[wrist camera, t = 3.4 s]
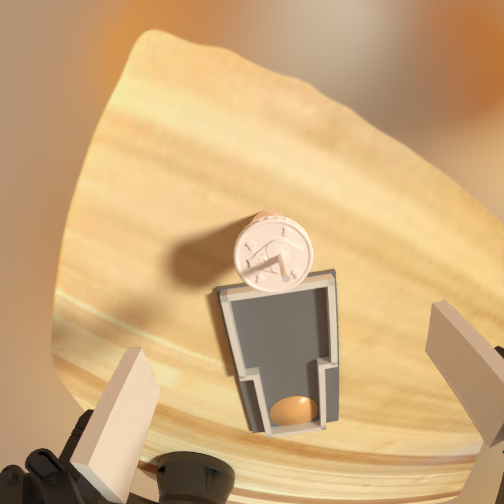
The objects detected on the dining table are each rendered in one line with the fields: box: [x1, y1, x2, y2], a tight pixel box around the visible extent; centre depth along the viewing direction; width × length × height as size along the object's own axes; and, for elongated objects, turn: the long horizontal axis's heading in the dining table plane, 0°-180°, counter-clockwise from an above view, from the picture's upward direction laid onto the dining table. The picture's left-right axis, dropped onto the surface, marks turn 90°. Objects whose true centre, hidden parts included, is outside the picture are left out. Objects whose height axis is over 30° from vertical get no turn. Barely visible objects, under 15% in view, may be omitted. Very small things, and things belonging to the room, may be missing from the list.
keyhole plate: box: [216, 269, 339, 438], centre depth 39 cm, size 14×26×2 cm, turn 9°
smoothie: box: [233, 210, 313, 294], centre depth 27 cm, size 6×6×14 cm
